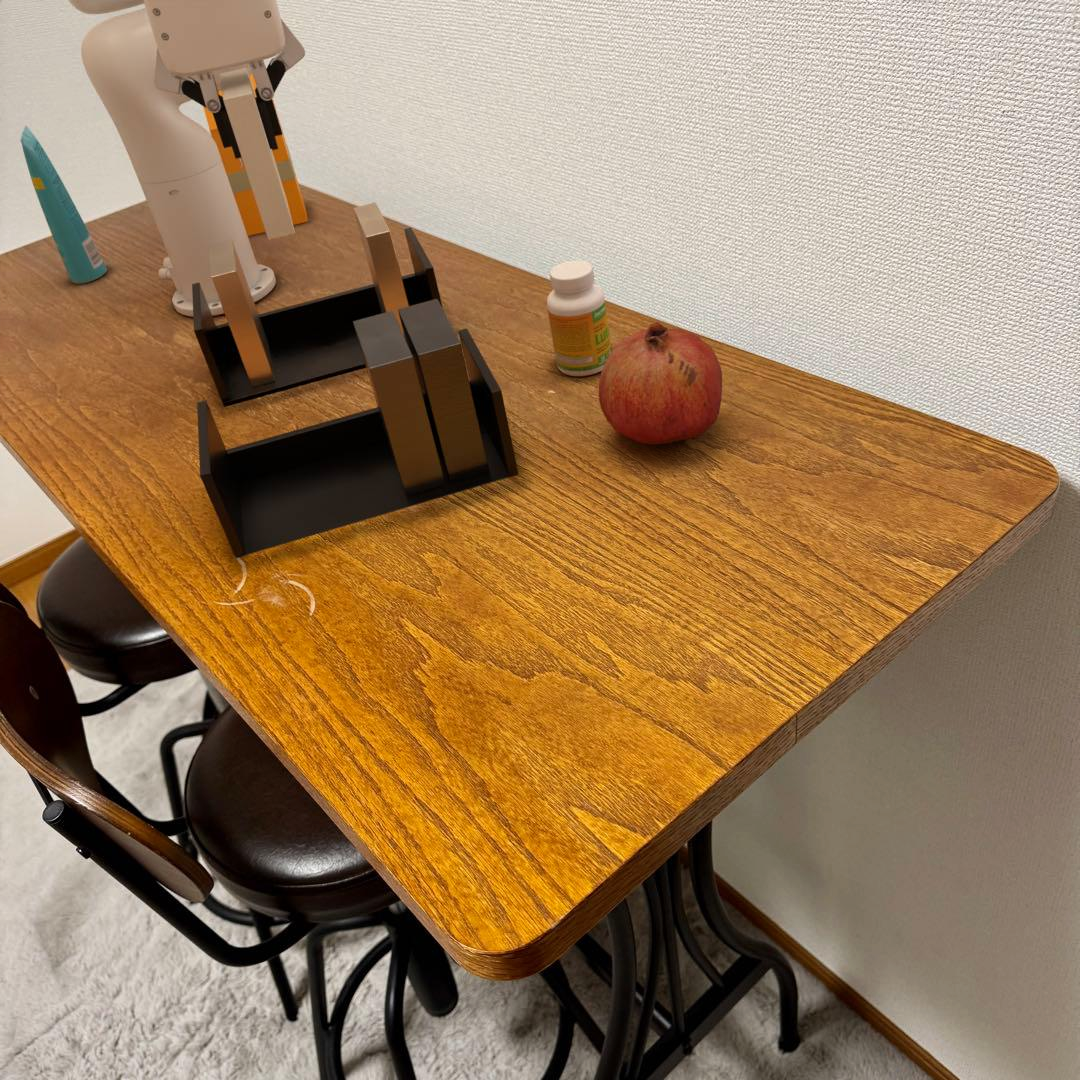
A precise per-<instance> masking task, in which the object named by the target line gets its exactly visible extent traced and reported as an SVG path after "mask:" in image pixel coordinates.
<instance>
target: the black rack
mask: <svg viewBox="0 0 1080 1080" xmlns="http://www.w3.org/2000/svg"><path fill="white" fill-rule="evenodd" d="M442 307H443V306H442ZM442 307H441V305H440V303H439V301H438V299H434V300H431V301H427V302H423V303H420V304H416V305H412V306H408V307H405V308H401V309H398V312H399V316H400V320H401V324H402V328H403V332H404V335H405V338H404V335H403V333H402V331H401V328H400V326H399V324H398V321H397V319H396V317H395V314H394V312H393V311H390V312H386V313H382V314H379V315H375V316H371V317H368V318H364V319H360V320H356V321H353V324H354V327H355V331H356V334H357V337H358V341H359V344H360V348H361V351H362V355H363V358H364V362H365V365H366V368H365V369H366V372H367V375H368V378H369V382H370V387H371V388H372V392H373V395H374V399H375V402H376V407H372V408H369V409H366V410H362V411H359V412H354V413H352V414H348V415H345V416H341V417H337V418H333V419H330V420H326V421H322V422H319V423H316V424H313V425H309V426H305V427H303V428H298V429H295V430H291V431H288V432H284V433H280V434H277V435H273V436H270V437H266V438H263V439H259V440H255V441H252V442H249V443H244V444H241V445H238V446H234V447H231V448H227V447H226V445H225V443H224V441H223V438H222V436H221V433H220V431H219V428H218V426H217V423H216V421H215V418H214V416H213V413H212V410H211V409H210V406H209V403H208V401H207V400H206V399H205V400H201V401H197V402H196V410H197V411H196V413H197V433H198V434H197V435H198V436H197V437H198V439H197V440H198V461H199V476H200V477H199V478H200V480H201V482H202V484H203V486H204V488H205V490H206V493H207V495H208V498H209V500H210V502H211V505H212V507H213V509H214V511H215V514H216V516H217V518H218V521H219V523H220V525H221V528H222V530H223V532H224V534H225V538H226V539H227V542H228V544H229V546H230V548H231V550H232V553H233V555H234V557H235V559H238V558H241V557H245V556H247V555H252V554H255V553H258V552H262V551H265V550H268V549H272V548H276V547H278V546H282V545H285V544H288V543H292V542H295V541H298V540H302V539H306V538H309V537H312V536H316V535H319V534H323V533H325V532H329V531H332V530H336V529H339V528H343V527H347V526H349V525H353V524H357V523H359V522H362V521H366V520H369V519H374V518H377V517H380V516H383V515H387V514H391V513H394V512H397V511H401V510H403V509H408V508H411V507H414V506H417V505H421V504H425V503H428V502H431V501H434V500H438V499H441V498H444V497H447V496H451V495H455V494H458V493H462V492H465V491H469V490H472V489H475V488H478V487H482V486H485V485H489V484H492V483H494V482H495V483H496V482H499V481H502V480H504V479H505V480H506V479H509V478H512V477H515V476H519V470H518V465H517V460H516V456H515V455H516V454H515V450H514V446H513V441H512V436H511V431H510V426H509V420H508V415H507V411H506V407H505V401H504V397H503V393H502V392H503V390H502V389H501V387H500V385H499V383H498V381H497V380H496V378H495V376H494V374H493V372H492V370H491V369H490V367H489V365H488V364H487V362H486V360H485V358H484V356H483V354H482V353H481V350H480V349H479V347H478V345H477V343H476V341H475V340H474V338H473V336H472V335H471V333H470V331H469V329H468V328H463V329H460V330H458V335H457V334H456V331H455V330H454V328H453V325H452V324H451V322H450V320H449V318H448V317H447V314H446V313H445V311H444V308H443V309H442ZM458 336H459V338H458ZM405 339H406V340H405Z"/></svg>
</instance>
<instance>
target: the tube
mask: <svg viewBox="0 0 1080 1080" xmlns="http://www.w3.org/2000/svg"><path fill="white" fill-rule="evenodd" d="M19 141H20V143H21V148H22V152H23V155H24V159H25V163H26V166H27V169H28V172H29V176H30V179H31V182H32V186H33V189H34V191H35V194H36V196H37V200H38V202H39V205H40V208H41V210H42V213H43V215H44V218H45V221H46V223H47V226H48V228H49V232H50V233H51V237H52V238H53V241H54V244H55V246H56V248H57V251H58V253H59V255H60V256H59V257H60V258H61V261H62V263H63V266H64V269H65V270H66V273H67V274H68V277H69V280H70V281H71V282H72V283H74V284H86V283H89V282H93V281H95V280H97V279H99V278H101V277H102V276H104V275H105V274H106V273H107V272H108V268H107V266H106V264H105V261H104V260H103V258H102V255H101V254H100V252H99V250H98V247H97V246H96V243H95V242H94V240H93V238H92V236H91V234H90V232H89V230H88V228H87V226H86V224H85V222H84V220H83V218H82V216H81V214H80V212H79V210H78V209H77V206H76V204H75V203H74V201H73V199H72V197H71V195H70V193H69V191H68V190H67V188H66V186H65V184H64V182H63V181H62V179H61V177H60V175H59V173H58V171H57V169H56V168H55V166H54V165H53V163H52V161H51V159H50V158H49V156H48V154H47V153H46V151H45V149H44V148H43V146H42V145H41V143H40V142H39V140H38V139H37V137H36V136H35V135H34V132H32V131H31V129H30V128H29V127H28V126H27V125H24V127H23V129H22V133H21V135H20V139H19Z"/></svg>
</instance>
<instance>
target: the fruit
mask: <svg viewBox="0 0 1080 1080" xmlns="http://www.w3.org/2000/svg"><path fill="white" fill-rule="evenodd" d="M722 394H723V371H722V367H721V365H720V362H719V359H718V357H717V355H716V353H715V351H714V349H713V348H712V347H711V346H710V345H709V344H707V343H706V341H704V340H703V339H702V338H701V337H699V336H697V335H696V334H694V333H692V332H689V331H687V330H684V329H679V328H668V327H666V326H664V325H663V324H661V323H660V322H659V321H656V322H653V323H650V325H649V327H648V328H646V329H645V328H644V329H640V330H639V331H637V332H635V333H633V334H632V335H630V336H627V337H625V338H623V339H621V340H620V341H618V343H617V344H616V345H615V346H614V347H612V348H611V353H610V354H609V357H608V359H607V361H606V363H605V365H604V367H603V369H602V371H601V373H600V377H599V383H598V402H599V405H600V409H601V412H602V413H603V415H604V417H605V419H606V421H607V423H609V424H610V426H611V427H612V428H613V429H614V430H615V431H616V432H618V433H619V434H621V435H623V436H624V437H627V438H628V439H631V440H633V441H635V442H638V443H641V444H647V445H663V444H670V443H674V442H679V441H684V440H688V439H692V438H695V437H698V436H700V435H703V434H704V433H706V432H707V431H708V430H709V429H710V428H711V427H712V426H713V425H714V424H715V423H716V422H717V420H718V418H719V415H720V411H721V404H722Z"/></svg>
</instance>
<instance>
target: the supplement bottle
mask: <svg viewBox="0 0 1080 1080" xmlns="http://www.w3.org/2000/svg"><path fill="white" fill-rule="evenodd" d="M549 281H550V286H551V288H552V290H551V291H550V292H549V294H548V296H547V298H546V308H547V314H548V320H549V326H550V327H549V328H550V332H551V333H550V334H551V339H552V344H553V345H552V346H553V351H554V358H555V362H556V363H555V364H556V367H557V369H558V370H559V371H560V372H561V373H562V374H564V375H567V376H570V377H586V376H591V375H594V374H598V373H600V372H602V369H603V367H604V365H605V363H606V361H607V359H608V357H609V354H610V353H611V351H612V345H611V336H610V329H609V322H608V312H607V305H606V298H605V293H604V290H603V289H602V288H601V286H599V285H598V284H596V283H595V273H594V267H593V265H592V264H591V263H590V262H588V261H585V260H569V261H565V262H561V263H559V264H556V265H555V266H552V268H551V269H550V270H549Z"/></svg>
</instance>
